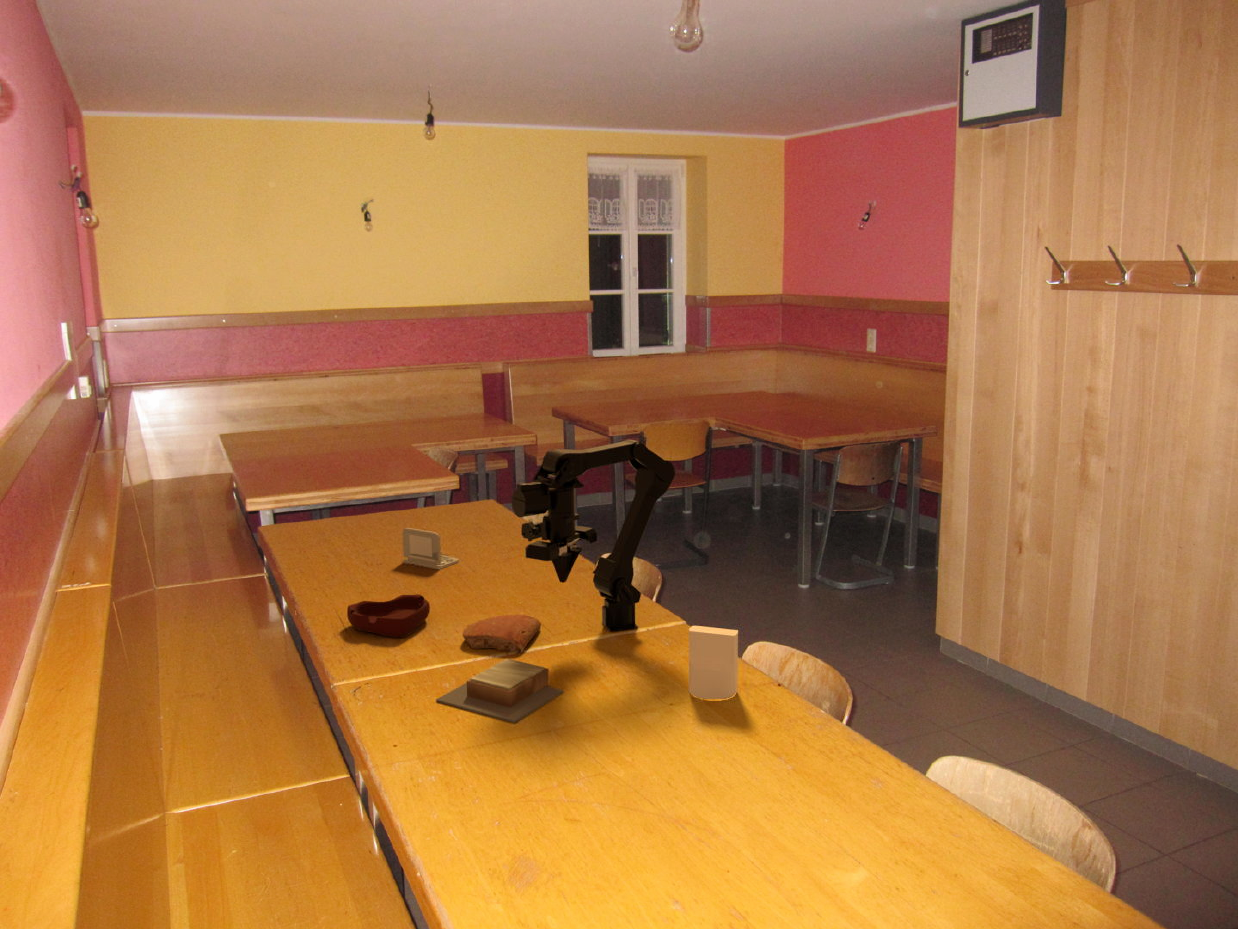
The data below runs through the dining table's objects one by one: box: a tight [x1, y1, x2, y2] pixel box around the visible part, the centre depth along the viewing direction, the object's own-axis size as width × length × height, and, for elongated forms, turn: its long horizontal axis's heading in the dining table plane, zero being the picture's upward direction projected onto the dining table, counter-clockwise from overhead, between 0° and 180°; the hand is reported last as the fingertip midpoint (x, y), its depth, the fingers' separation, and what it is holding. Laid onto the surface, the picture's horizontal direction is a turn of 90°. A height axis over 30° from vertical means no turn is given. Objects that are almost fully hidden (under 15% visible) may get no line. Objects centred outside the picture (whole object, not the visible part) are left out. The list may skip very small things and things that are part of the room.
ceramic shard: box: [462, 614, 542, 654], centre depth 208 cm, size 15×6×15 cm
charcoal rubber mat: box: [435, 682, 564, 724], centre depth 180 cm, size 15×18×1 cm
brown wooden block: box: [466, 658, 550, 707], centre depth 181 cm, size 3×10×12 cm
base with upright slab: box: [688, 625, 739, 700], centre depth 180 cm, size 9×9×12 cm
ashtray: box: [346, 593, 431, 639], centre depth 216 cm, size 18×16×5 cm
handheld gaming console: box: [401, 527, 460, 570], centre depth 266 cm, size 13×9×10 cm
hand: (562, 582), depth 205 cm, fingers closed
